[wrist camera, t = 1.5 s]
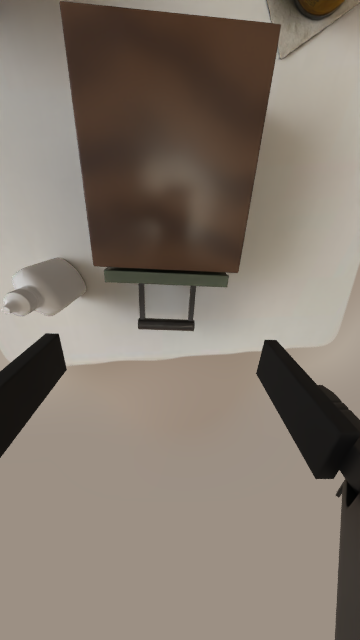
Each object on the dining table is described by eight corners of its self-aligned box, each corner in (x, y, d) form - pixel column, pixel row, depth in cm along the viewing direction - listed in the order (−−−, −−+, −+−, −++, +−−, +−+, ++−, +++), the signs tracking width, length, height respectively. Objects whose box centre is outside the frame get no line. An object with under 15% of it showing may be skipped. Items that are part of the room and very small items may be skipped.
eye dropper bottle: (59, 296, 30) (-6, 339, 19) (47, 257, 27) (-36, 280, 17) (89, 295, 30) (41, 337, 19) (79, 256, 28) (18, 277, 17)
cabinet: (218, 257, 28) (238, 273, 19) (118, 252, 27) (93, 266, 19) (238, 103, 21) (282, 23, 13) (106, 92, 21) (58, -1, 12)
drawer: (208, 315, 31) (218, 343, 24) (125, 312, 30) (111, 339, 23) (230, 134, 22) (257, 92, 15) (112, 125, 21) (82, 77, 14)
